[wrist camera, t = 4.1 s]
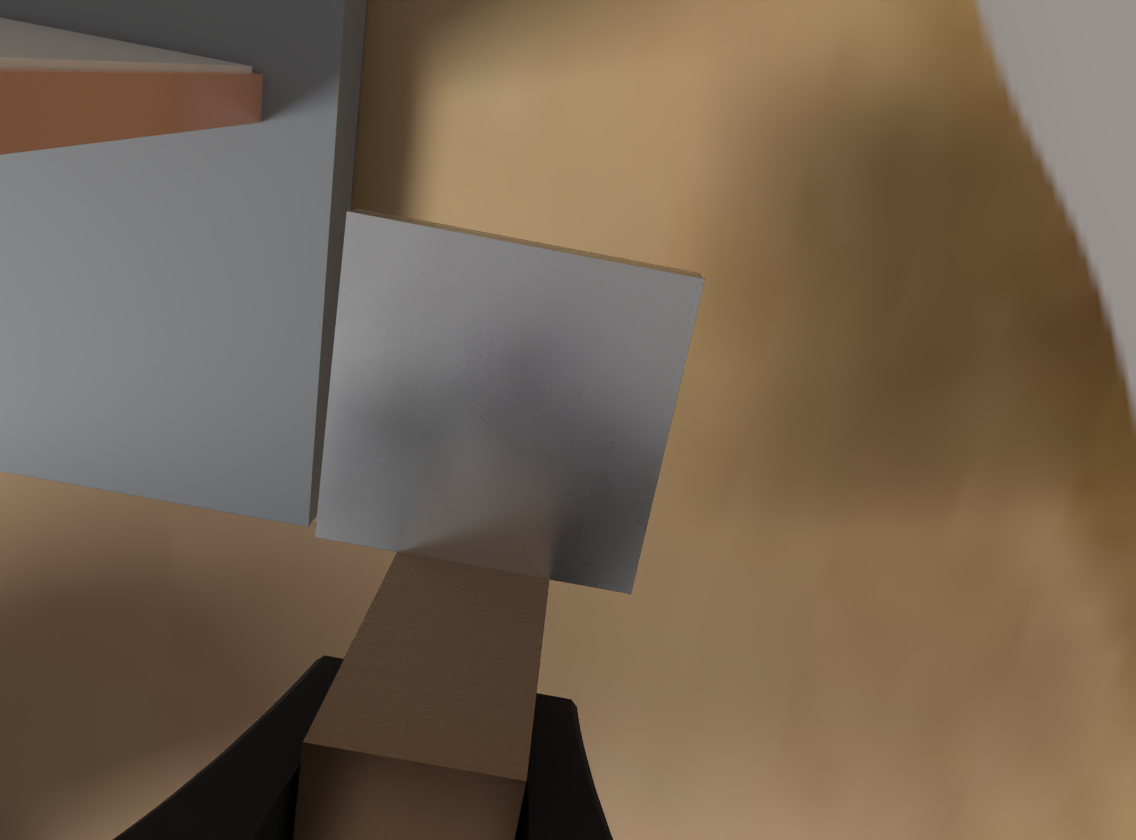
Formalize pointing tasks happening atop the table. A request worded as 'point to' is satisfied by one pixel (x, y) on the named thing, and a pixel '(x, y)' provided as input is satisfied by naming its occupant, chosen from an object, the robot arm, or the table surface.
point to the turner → (476, 502)
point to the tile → (111, 90)
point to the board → (185, 270)
